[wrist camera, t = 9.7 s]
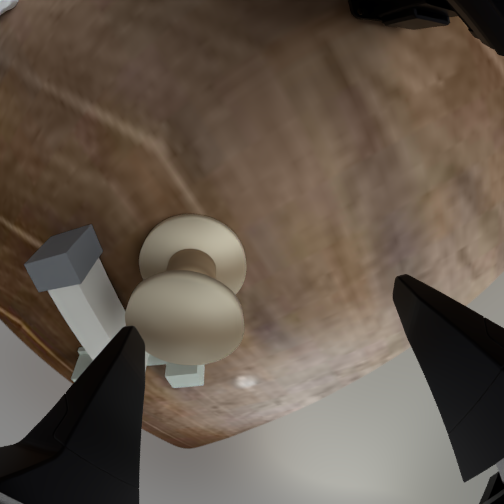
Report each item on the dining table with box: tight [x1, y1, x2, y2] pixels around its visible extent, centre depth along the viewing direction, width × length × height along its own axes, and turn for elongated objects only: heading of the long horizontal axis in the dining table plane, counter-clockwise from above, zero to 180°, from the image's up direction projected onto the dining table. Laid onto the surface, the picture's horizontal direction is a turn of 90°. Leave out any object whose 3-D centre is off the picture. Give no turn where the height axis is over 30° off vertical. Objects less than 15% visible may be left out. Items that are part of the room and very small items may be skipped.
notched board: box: [71, 347, 204, 388], centre depth 26 cm, size 3×14×4 cm, turn 100°
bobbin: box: [125, 214, 246, 365], centre depth 19 cm, size 8×8×7 cm
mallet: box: [24, 224, 149, 370], centre depth 21 cm, size 14×4×4 cm, turn 10°
